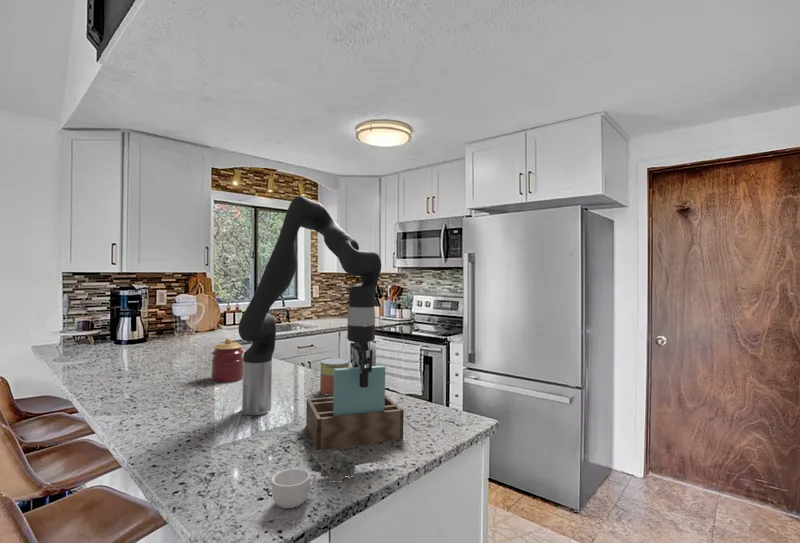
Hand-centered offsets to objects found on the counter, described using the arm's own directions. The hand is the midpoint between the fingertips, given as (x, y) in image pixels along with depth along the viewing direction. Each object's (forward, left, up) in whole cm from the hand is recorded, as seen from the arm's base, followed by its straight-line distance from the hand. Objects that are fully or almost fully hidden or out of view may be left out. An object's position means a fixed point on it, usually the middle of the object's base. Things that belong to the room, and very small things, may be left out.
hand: (360, 383), depth 117 cm
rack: (0, +6, -17) cm, 18 cm away
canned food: (+5, +54, -17) cm, 57 cm away
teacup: (-20, -23, -17) cm, 35 cm away
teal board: (0, 0, -16) cm, 16 cm away
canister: (-35, +86, -17) cm, 95 cm away
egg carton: (-10, -13, -18) cm, 24 cm away
